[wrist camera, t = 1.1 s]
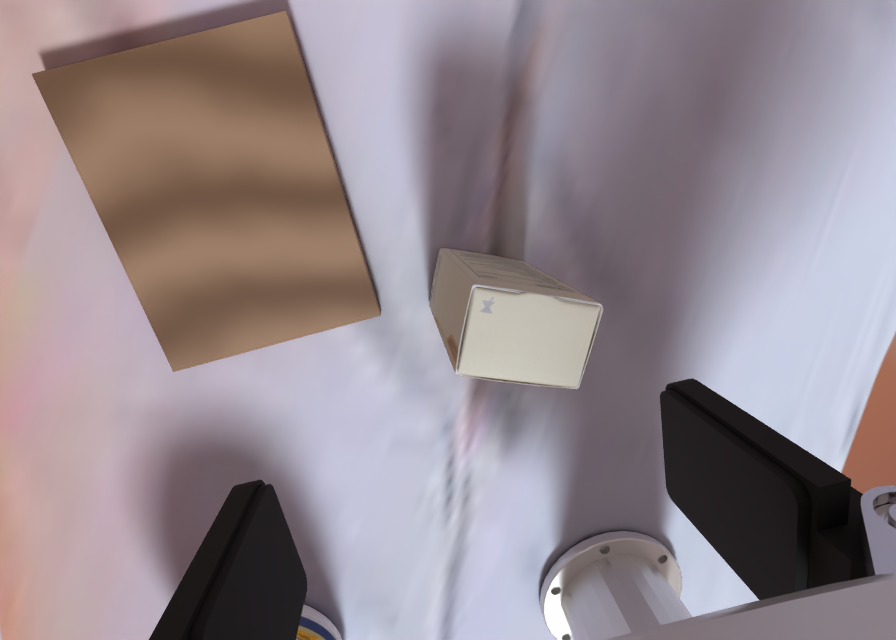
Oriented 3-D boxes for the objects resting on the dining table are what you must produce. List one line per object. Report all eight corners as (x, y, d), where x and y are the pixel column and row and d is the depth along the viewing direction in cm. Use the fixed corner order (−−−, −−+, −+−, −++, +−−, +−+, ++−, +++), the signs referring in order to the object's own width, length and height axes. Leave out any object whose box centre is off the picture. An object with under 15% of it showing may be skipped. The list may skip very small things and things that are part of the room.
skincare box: (427, 306, 32) (445, 377, 20) (438, 245, 31) (464, 280, 19) (515, 320, 33) (582, 394, 21) (529, 261, 32) (607, 304, 20)
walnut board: (381, 310, 31) (380, 315, 30) (181, 365, 31) (173, 371, 30) (290, 18, 26) (285, 10, 25) (47, 78, 26) (31, 74, 24)
